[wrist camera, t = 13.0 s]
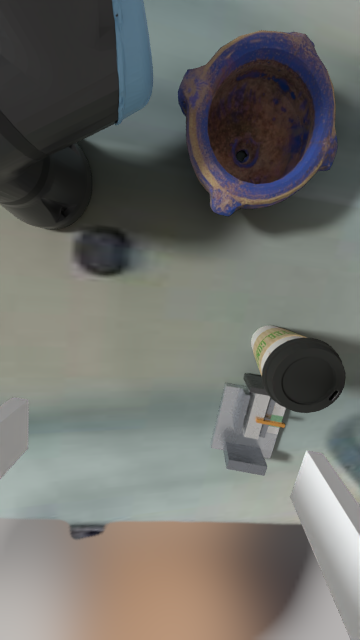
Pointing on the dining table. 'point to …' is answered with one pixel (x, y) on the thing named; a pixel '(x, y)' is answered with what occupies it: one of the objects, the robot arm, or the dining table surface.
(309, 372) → the coffee cup
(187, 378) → the dining table surface
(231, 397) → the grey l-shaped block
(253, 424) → the plunger
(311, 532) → the robot arm
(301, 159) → the bowl
